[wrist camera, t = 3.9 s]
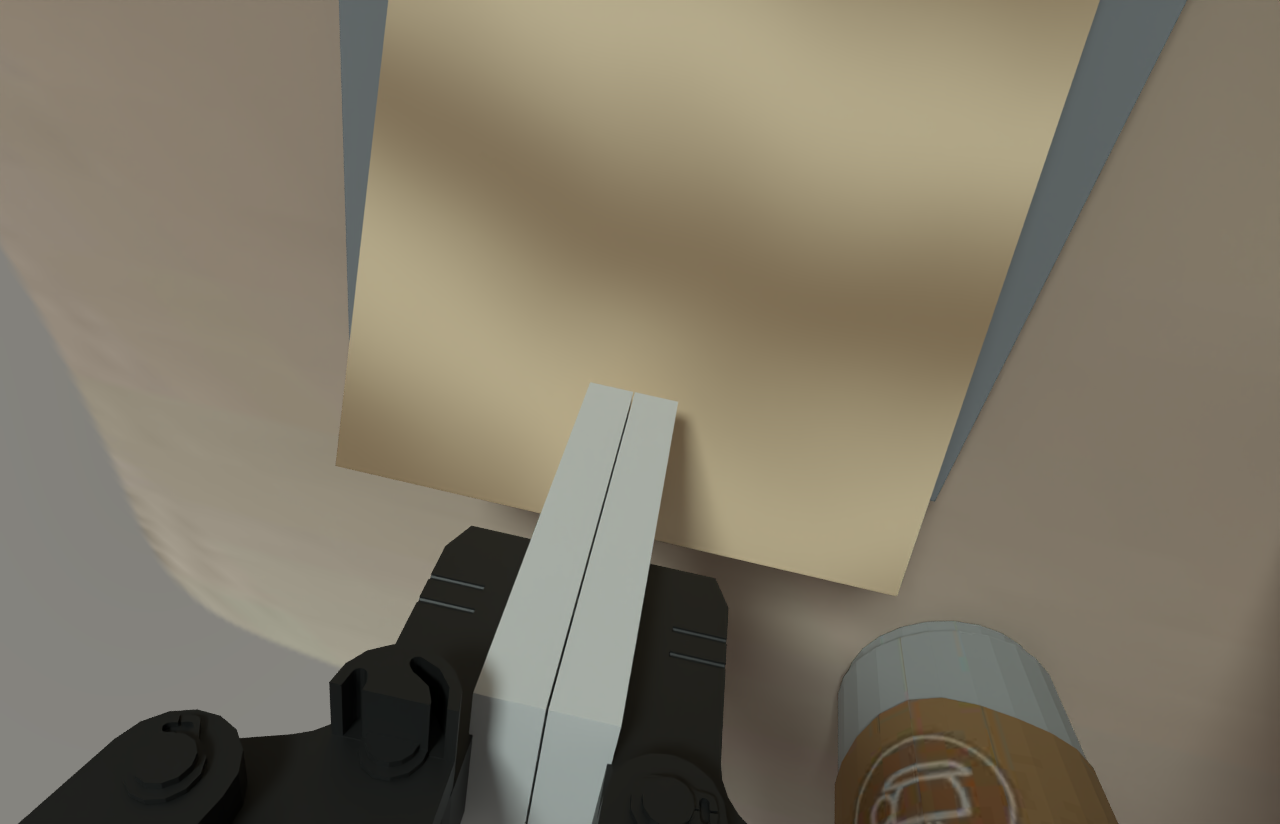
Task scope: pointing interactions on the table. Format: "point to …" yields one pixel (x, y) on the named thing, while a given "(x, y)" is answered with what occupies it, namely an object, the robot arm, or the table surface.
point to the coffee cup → (958, 735)
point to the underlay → (1086, 132)
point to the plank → (699, 250)
